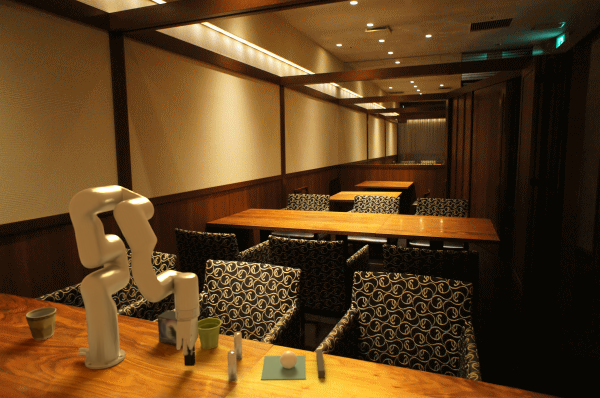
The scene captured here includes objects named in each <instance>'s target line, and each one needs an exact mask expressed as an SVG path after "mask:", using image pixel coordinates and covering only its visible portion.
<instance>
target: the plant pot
mask: <svg viewBox="0 0 600 398" xmlns="http://www.w3.org/2000/svg"><path fill="white" fill-rule="evenodd" d="M222 323H223V321H222V320H221V319H219V318H217V317H207V318H203V319H201V320H198V338H199V343H200V346H201V348H202V349H203V350H211V349H215V348H216V347H218V346H219V340H220V339H219V338H220V328H221V326H222Z"/></svg>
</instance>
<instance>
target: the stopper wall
mask: <svg viewBox="0 0 600 398" xmlns="http://www.w3.org/2000/svg"><path fill="white" fill-rule="evenodd" d="M315 353H316V354H315V355H316V358H315V359H316V365H317V376H318V379H325V378H326V375H325V373H326V369H325V361H324V353H323V350H322V349H316V352H315Z"/></svg>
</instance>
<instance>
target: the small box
mask: <svg viewBox="0 0 600 398" xmlns="http://www.w3.org/2000/svg"><path fill="white" fill-rule="evenodd" d="M157 327H158V328H157V329H158V331H157V332H158V342H159V343H162V344H167V345H172V346H176V347H177V342H176V332H177V319H176V315H175V311H174V310H170V309H168V310H166V311H164V312H162V313H161V314H159V315H157ZM182 347H183V345H182Z"/></svg>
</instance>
